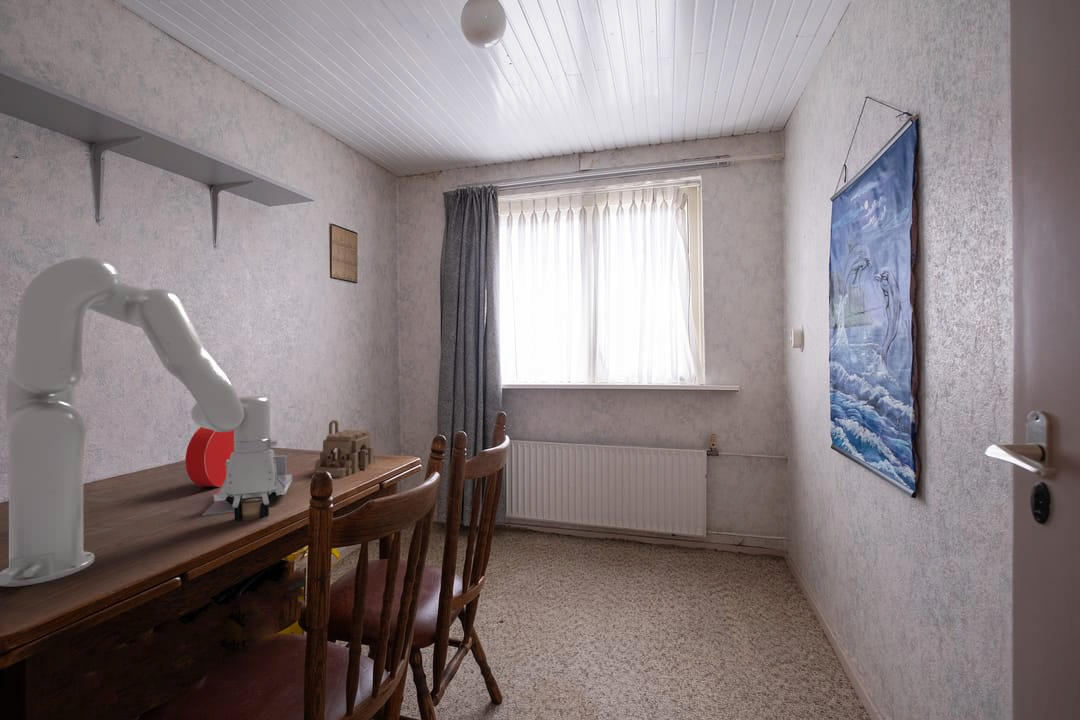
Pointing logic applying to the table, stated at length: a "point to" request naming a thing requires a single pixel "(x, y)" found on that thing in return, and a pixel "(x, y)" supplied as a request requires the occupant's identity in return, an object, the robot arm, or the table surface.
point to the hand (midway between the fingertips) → (252, 520)
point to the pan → (282, 478)
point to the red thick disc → (209, 456)
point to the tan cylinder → (251, 509)
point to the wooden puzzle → (345, 452)
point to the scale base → (226, 507)
